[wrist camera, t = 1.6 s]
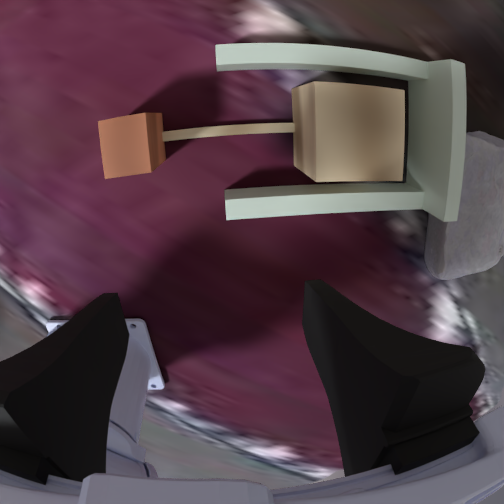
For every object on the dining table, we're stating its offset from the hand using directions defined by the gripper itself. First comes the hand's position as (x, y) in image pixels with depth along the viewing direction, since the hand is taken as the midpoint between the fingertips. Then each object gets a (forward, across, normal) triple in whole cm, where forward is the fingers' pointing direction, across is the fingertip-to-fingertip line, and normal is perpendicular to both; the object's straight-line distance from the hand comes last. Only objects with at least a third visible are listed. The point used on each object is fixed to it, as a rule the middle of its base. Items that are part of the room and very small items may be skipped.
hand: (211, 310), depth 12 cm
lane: (+10, -7, -6) cm, 14 cm away
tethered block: (+10, -2, -6) cm, 12 cm away
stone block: (+10, -21, -1) cm, 24 cm away
